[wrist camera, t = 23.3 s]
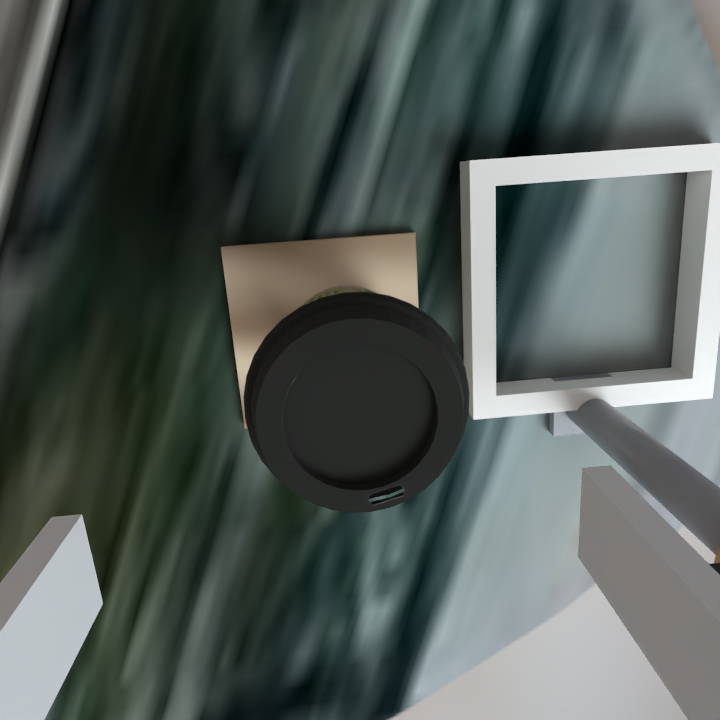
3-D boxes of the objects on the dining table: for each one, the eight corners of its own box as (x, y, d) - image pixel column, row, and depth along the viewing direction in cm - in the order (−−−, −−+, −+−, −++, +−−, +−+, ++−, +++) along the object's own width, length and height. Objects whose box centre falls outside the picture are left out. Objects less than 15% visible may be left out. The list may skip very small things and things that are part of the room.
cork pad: (222, 246, 37) (220, 247, 37) (414, 232, 38) (415, 232, 37) (245, 425, 41) (244, 428, 40) (421, 409, 41) (422, 413, 41)
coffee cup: (395, 234, 37) (444, 266, 23) (438, 377, 40) (505, 485, 26) (245, 284, 37) (199, 346, 23) (298, 422, 40) (286, 555, 26)
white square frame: (459, 162, 37) (578, 143, 20) (712, 144, 37) (1032, 111, 21) (465, 439, 42) (562, 608, 25) (687, 419, 43) (924, 570, 26)
